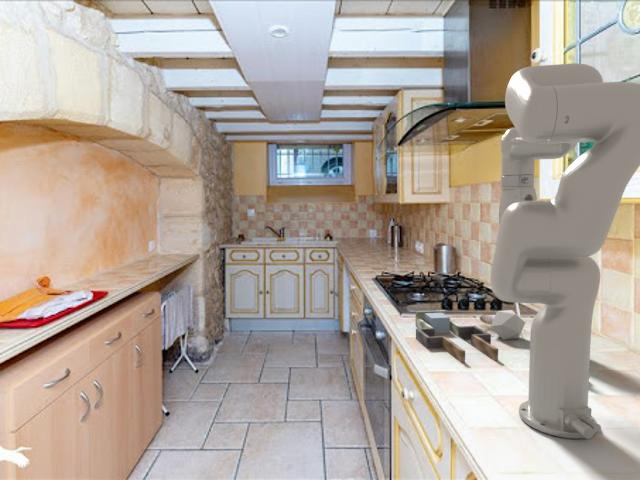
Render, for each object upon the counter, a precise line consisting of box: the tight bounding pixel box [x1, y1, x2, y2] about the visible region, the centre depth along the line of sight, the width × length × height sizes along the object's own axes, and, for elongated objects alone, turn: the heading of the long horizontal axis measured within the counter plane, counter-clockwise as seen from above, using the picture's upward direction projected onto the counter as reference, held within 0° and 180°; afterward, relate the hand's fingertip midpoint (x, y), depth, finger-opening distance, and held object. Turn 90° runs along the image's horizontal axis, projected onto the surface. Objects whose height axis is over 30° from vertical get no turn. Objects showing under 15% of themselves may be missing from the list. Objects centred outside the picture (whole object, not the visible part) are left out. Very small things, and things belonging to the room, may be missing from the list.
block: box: [424, 313, 451, 334], centre depth 134 cm, size 6×6×5 cm
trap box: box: [415, 309, 499, 363], centre depth 123 cm, size 33×19×5 cm, turn 7°
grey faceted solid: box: [489, 309, 526, 341], centre depth 126 cm, size 8×9×10 cm
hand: (515, 255), depth 106 cm, fingers closed
